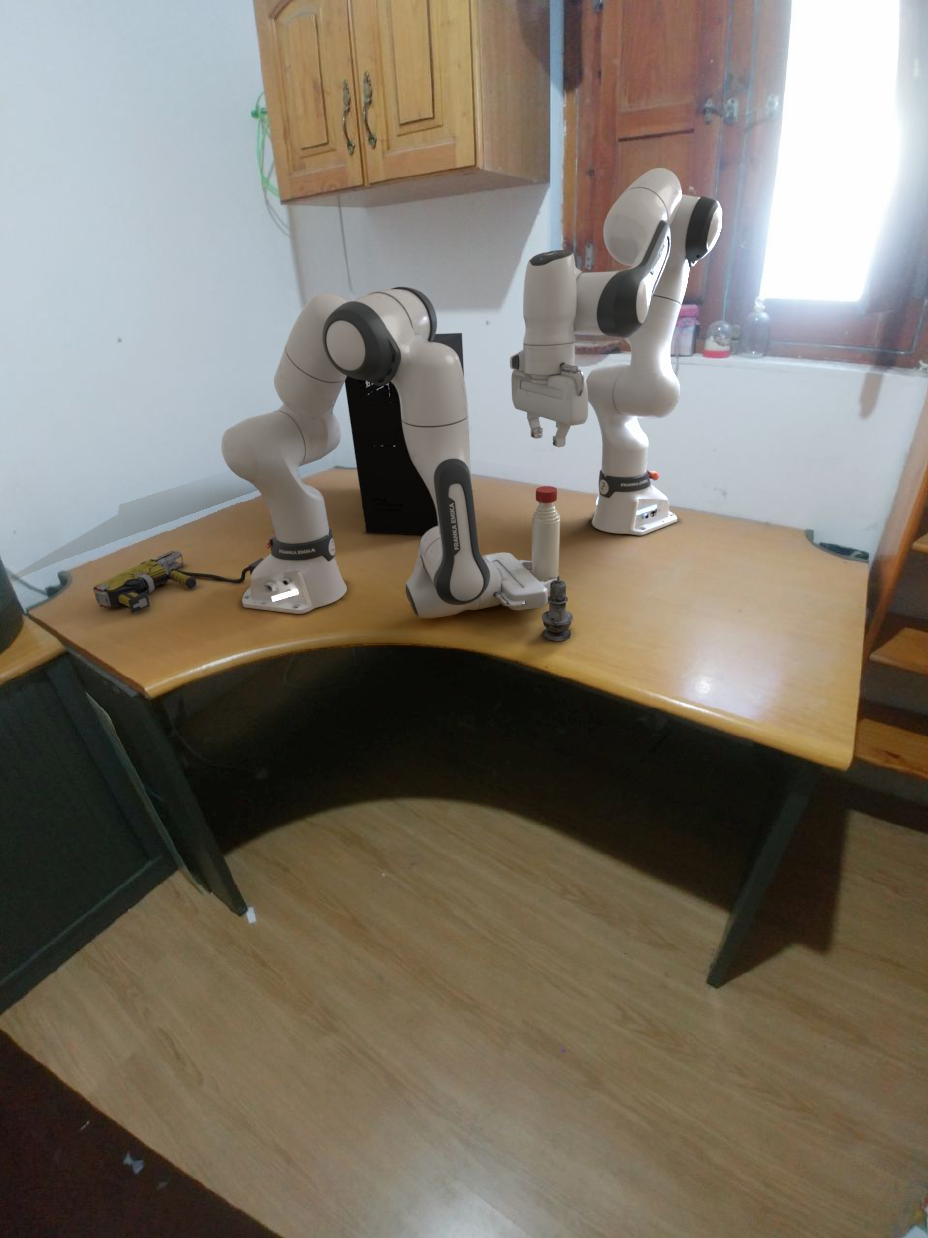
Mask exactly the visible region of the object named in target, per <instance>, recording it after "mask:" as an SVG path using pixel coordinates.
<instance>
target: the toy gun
mask: <svg viewBox="0 0 928 1238" xmlns="http://www.w3.org/2000/svg"><path fill="white" fill-rule="evenodd" d="M180 558H181V562H179V561H177V560H178V559H180ZM144 562H145V563H143V562H142V563H143V564H141V563H140V564H141V565H140V564H139V565H136V566H134V567H132V568H130V569H128V570H126V571H124V572H122V573H119V574H117V575H115V576H113V577H111V578H109V579H107V580H104V581H103V582H101V583H98V584H96V585H95V586H93V587H92V590H93V593H94V596H95V600H96V602H97V605H99V606H100V607H101V608H105V609H108V608H115V607H121V606H127V607H129V609H130V614H136V613H138V612H141V611H142V610H145V609H147V608H150V607H151V605H150V601H149V596H148V595H150V594H151V593H153V592H154V591H155V589H156V588H155V587H158V586H160V585H163V584H165V583H168V581H172V582H175V583H178V584H180V585H182V586H185V587H187V588H188V589H193V588H195V587H196V586H197V580H196V579H197V578H196V577H194V576H187V575H184V574H182V573H179V572H177V571H171V570H172V569H176V570H178V568H180V567H183V566H185V565H184V564H185V562H184V558H183V554H182V552H181V551H178V550H177V551H175V550H174V549H172V550H170V551H168V552H166V553H164V554H161V555H159V556H157V557H156V558H153V559H152V558H151V559H149V560H147V561H144Z"/></svg>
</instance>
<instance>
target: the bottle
mask: <svg viewBox="0 0 928 1238" xmlns="http://www.w3.org/2000/svg"><path fill="white" fill-rule="evenodd" d="M560 536H561V516H560V514H559V511H558V510H557V508H556V506H555V504H554V502H552V503H541V502H538V505H537V507H536V508H535V511H534V513H533V514H532V518H531V561H532V570H531V574H532V575H533V576H534V577H535V578H536V579H537V580H538V581H539V582H542V581H544V582H546V581H548V580H549V578H551V577H558V576H559V575H560V574H559V573H560V571H559V570H560V543H561V542H560V541H561V539H560ZM559 577H560V576H559ZM549 596H550V591H549V592H548V597H549ZM548 602H549V601H548ZM548 602H547V603H548Z"/></svg>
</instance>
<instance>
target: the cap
mask: <svg viewBox="0 0 928 1238" xmlns="http://www.w3.org/2000/svg"><path fill="white" fill-rule="evenodd" d="M535 500H536V502H538V503H539V502H541V503H552V502H553V503H555V502H556V501H557V500H558V489H557V487H555V486H550V485H544V486H539V487H537V488H536V489H535Z"/></svg>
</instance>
